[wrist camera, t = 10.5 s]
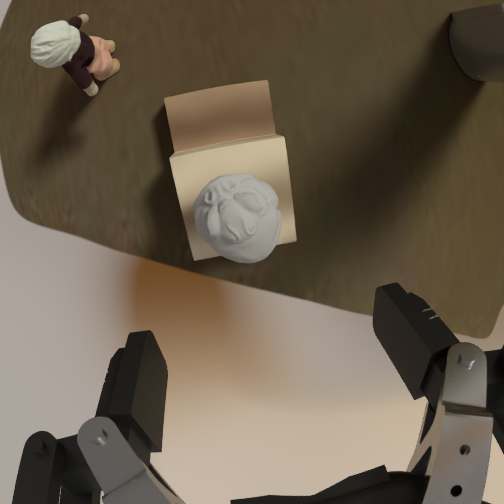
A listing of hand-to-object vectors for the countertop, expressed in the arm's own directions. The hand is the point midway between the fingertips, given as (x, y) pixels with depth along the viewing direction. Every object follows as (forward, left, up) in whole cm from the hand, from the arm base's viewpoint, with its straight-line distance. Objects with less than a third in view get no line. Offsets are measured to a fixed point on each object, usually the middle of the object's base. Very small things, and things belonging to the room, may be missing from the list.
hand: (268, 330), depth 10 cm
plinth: (-2, 0, -22) cm, 22 cm away
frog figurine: (0, 0, -16) cm, 16 cm away
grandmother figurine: (-15, -10, -22) cm, 28 cm away
